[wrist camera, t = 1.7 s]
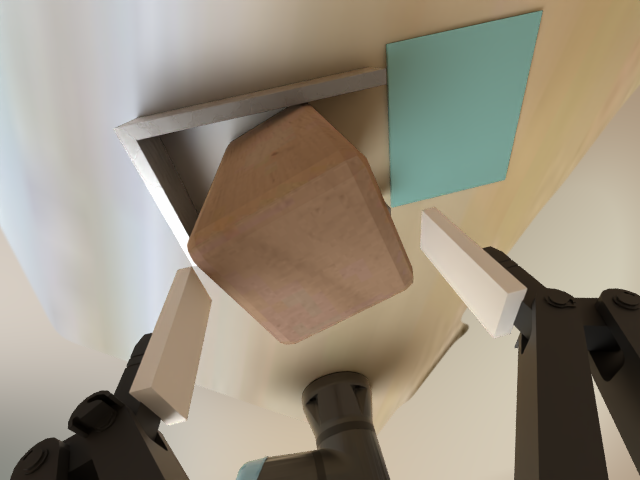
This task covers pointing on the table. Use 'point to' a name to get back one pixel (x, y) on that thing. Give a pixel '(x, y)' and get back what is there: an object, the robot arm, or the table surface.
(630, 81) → the table surface
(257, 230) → the wooden block
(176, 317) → the robot arm
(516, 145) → the table surface
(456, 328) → the table surface
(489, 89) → the pad
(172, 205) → the chute
